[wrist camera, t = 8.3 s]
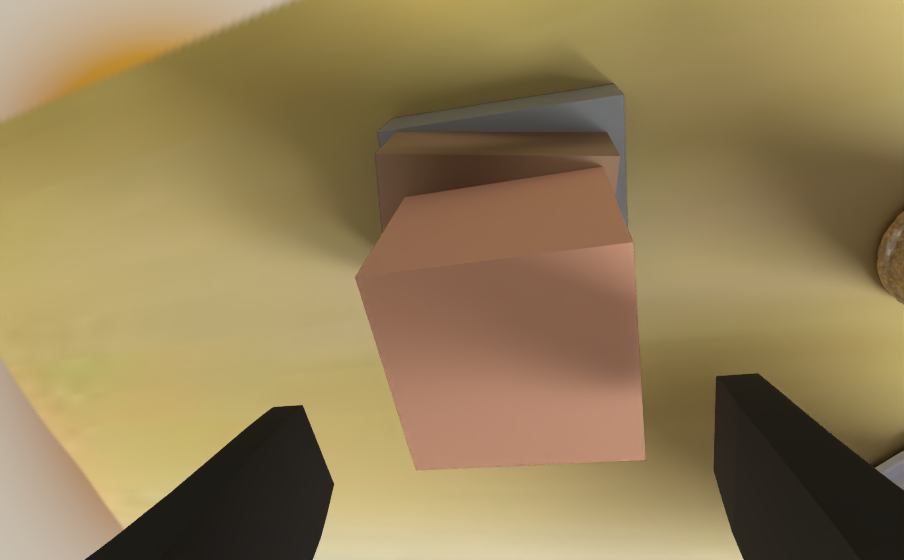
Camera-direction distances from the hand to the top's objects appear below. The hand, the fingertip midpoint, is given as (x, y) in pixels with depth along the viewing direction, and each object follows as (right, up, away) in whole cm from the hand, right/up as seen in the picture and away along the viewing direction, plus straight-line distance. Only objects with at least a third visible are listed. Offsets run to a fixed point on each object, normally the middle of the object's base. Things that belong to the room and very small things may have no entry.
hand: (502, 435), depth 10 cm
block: (+1, +3, +5) cm, 6 cm away
